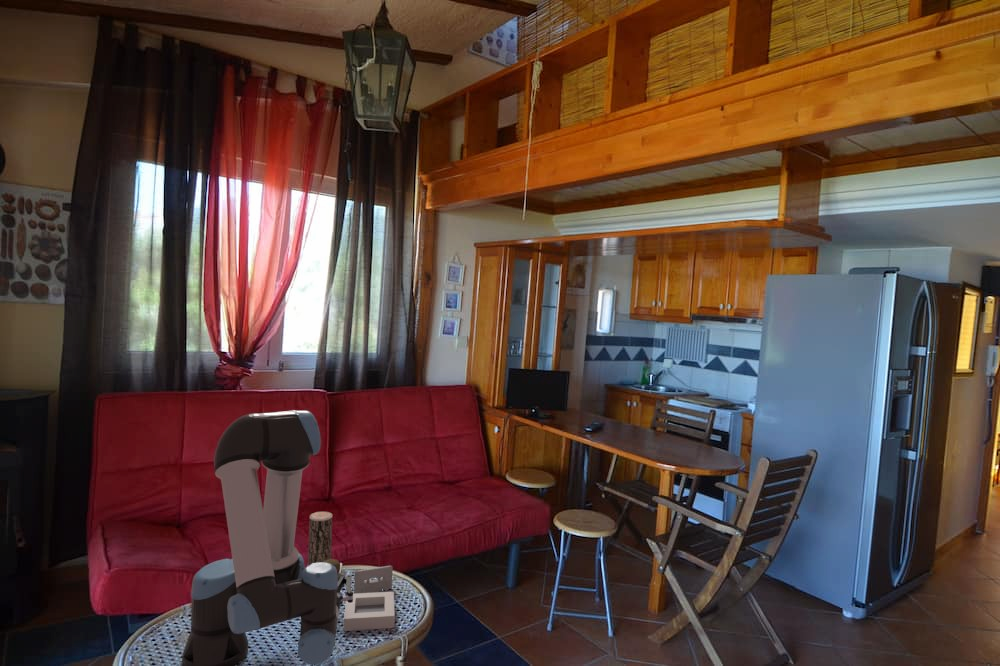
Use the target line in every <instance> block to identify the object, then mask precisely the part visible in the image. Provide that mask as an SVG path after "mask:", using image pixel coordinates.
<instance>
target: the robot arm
mask: <svg viewBox="0 0 1000 666" xmlns="http://www.w3.org/2000/svg"><path fill="white" fill-rule="evenodd" d="M318 424H319V423H318V421H317V419H316V418H315V415H314V414H313V413H312V412H311V411H309V410H306V409H305V410H295V409H292V410H287V411H286V410H285V411H273V412H260V413H259V412H258V413H256V412H254V413H247V414H245V415H242V416H240V417H238V418H237V419H235V420H234V421H233V422H232V423H230V424H229V425H228V426H227V428H226V429H225V430H224V431H223V433H222V435H221V437H220V438H219V440H218V442H217V445H216V448H215V451H214V452H215V453H214V457H213V466H214V475H215V476H216V478H218V479H219V480H220V483H221V488H222V496H223V501H224V510H225V517H226V524H227V529H228V539H229V544H230V545H229V546H230V551H231V557H232V558H222V559H220V560H216V561H215V560H214V561H213V562H211V563H209V564H206V565H204V566H202V567H201V568H200V569H199V570H198V571H197V572H195V574H194V576H193V578H192V584H191V591H190V597H191V603H190V604H191V605H190V606H191V609H190V615H191V616H190V617H191V619H190V631H189V632H190V633H189V635H188V637H187V641H186V642H185V646H184V649H183V652H182V659H181V665H182V666H238V665H239V664H240V663H242V662H243V661H244V660H245V658H246V657H247V656H248V653H249V639H248V636H247V633H248V632H253V631H259V630H260V629H264V628H266V627H269V626H274V625H277V624H280V623H282V622H283V623H284V622H286V621H290V620H294V619H297V618H300V635H299V639H298V641H297V645H298V646H297V653H298V657H299V658H300V660H301V661H302V662H303V663H305V664H307V665H310V666H312V665H313V666H316V665H321V664H323V663H325V662H326V661H327V660H328V659H330V657H331V656H332V654H333V651H334V648H335V646H336V635H337V627H338V622H339V616H340V609H341V606H342V604H343V603H344V602H346V601H348V602H349V603H351V602H353V594H354V590H352V575H350V574H349V575H348V574H347V575H346V570H343V563H342V562H339V563H340V571H339V572H338V575H337V569H336V567H335V566H334V565H332V564H330V563H327V562H316V563H312V564H310V565H309V566H308V565H305V560H304V558H303V556H302V554H301V553H300V552H299V550H298V549H297V548H296V547H295V539H296V533H297V532H296V530H297V521H298V514H299V504H300V495H301V487H302V480H303V479H302V478H303V471H304V470H305V469H306V468H308V467H309V465H310V463H311V456H315V455H317V454H318V453H319V452H320V450H321V444H322V442H321V440H322V438H321V432H320V427H319V425H318ZM260 462H261V463H260ZM261 465H262V467H264V468H265V469H266V479H265V488H264V497H263V499H264V500H262V495H261V491H260V483H259V480H258V470H259V468H260V467H261ZM262 501H263V502H262ZM343 588H345V591H344V593H343V594H341V591H342V589H343Z"/></svg>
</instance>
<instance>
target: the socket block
mask: <svg viewBox="0 0 1000 666" xmlns="http://www.w3.org/2000/svg"><path fill="white" fill-rule="evenodd" d="M394 592H395V591H382V592H375V593H356V594H354V593H353V602H351V603H349V602H348V601H345V606H344V615H343V628H342V629H343V632H349V631H352V632H353V631H364V630H366V631H367V630H381V629H394V628H395V617H396V616H395V615H396V614H395V593H394Z"/></svg>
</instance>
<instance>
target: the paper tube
mask: <svg viewBox="0 0 1000 666" xmlns="http://www.w3.org/2000/svg"><path fill="white" fill-rule="evenodd" d="M308 526H309V529H308V550H307V551H308V553H307V555H308V557H307V566H309V565H310V564H312V563H316V562H323V561H325V560H328V559H332V540H333V538H332V535H333V513H331V512H329V511H316V512H314V513H311V514H310V515H309V525H308Z"/></svg>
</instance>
